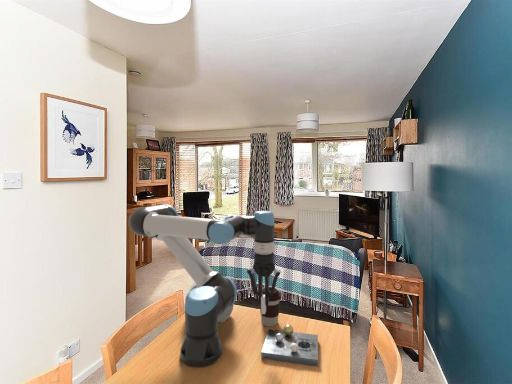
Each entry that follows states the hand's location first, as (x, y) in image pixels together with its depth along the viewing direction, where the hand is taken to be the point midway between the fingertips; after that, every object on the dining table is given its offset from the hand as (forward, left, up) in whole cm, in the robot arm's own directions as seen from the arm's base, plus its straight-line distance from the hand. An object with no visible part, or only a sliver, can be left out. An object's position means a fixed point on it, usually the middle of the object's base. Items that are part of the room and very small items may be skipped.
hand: (263, 312), depth 113 cm
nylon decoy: (+12, -5, -9) cm, 16 cm away
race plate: (+11, 0, -13) cm, 17 cm away
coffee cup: (0, +18, -14) cm, 23 cm away
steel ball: (+6, 0, -9) cm, 11 cm away
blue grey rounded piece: (-27, +16, -14) cm, 35 cm away
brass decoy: (+9, +6, -9) cm, 14 cm away
